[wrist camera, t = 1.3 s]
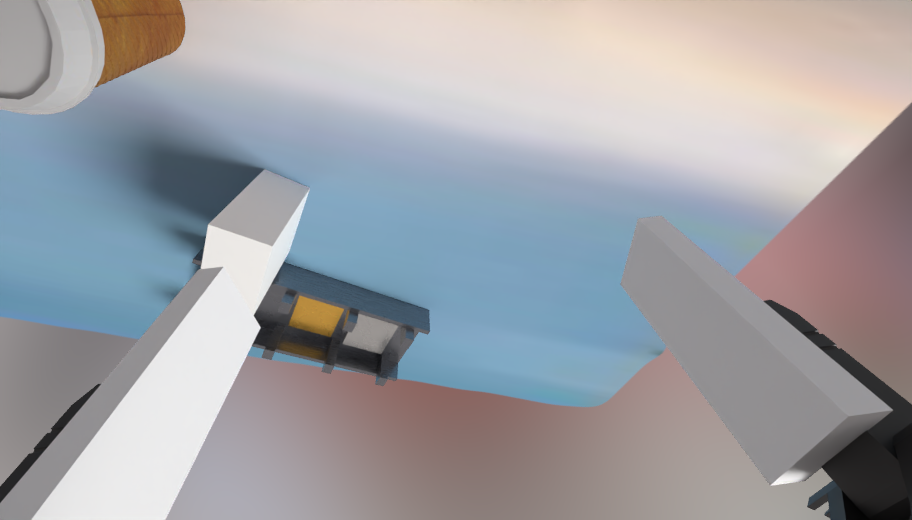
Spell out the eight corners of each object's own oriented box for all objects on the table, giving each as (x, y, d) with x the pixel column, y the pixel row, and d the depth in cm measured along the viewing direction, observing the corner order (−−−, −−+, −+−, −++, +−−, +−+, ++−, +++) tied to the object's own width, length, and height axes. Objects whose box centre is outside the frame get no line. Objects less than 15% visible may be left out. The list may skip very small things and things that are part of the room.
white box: (247, 237, 34) (194, 306, 26) (264, 169, 31) (208, 224, 22) (288, 252, 36) (250, 321, 28) (310, 187, 32) (272, 246, 24)
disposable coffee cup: (38, 22, 24) (-231, 27, 14) (49, -143, 19) (-323, -302, 10) (192, 108, 27) (66, 159, 18) (228, -16, 23) (90, -38, 13)
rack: (199, 309, 39) (173, 343, 35) (211, 238, 34) (183, 268, 30) (395, 361, 47) (392, 394, 43) (429, 310, 42) (430, 341, 38)
